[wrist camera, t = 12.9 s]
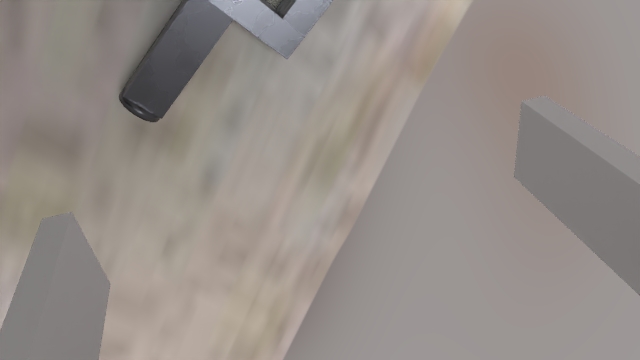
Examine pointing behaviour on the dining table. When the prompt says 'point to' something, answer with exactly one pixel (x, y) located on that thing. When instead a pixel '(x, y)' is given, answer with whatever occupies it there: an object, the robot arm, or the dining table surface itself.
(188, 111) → the dining table surface
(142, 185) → the dining table surface
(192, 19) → the low gray tray
